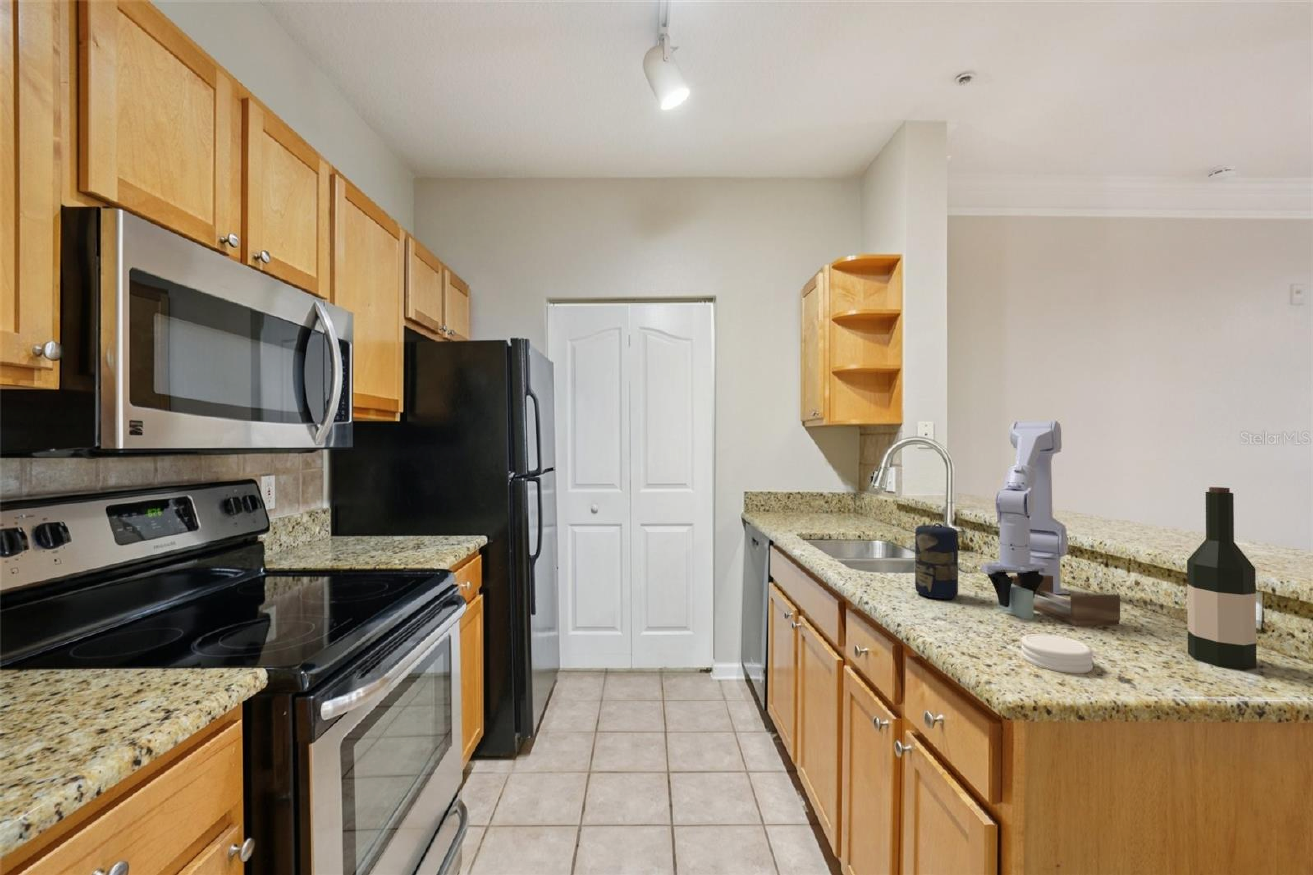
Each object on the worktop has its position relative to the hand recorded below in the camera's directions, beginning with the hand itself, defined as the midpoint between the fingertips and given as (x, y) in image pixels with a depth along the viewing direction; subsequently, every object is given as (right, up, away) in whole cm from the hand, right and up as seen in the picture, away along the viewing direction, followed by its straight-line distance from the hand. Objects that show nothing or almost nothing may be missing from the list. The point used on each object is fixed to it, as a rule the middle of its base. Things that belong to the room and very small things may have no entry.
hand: (1015, 605), depth 122 cm
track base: (+11, -2, +1) cm, 11 cm away
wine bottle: (+18, -2, -26) cm, 32 cm away
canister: (-10, -2, +14) cm, 18 cm away
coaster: (-11, -2, -27) cm, 29 cm away
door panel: (0, -2, 0) cm, 2 cm away
